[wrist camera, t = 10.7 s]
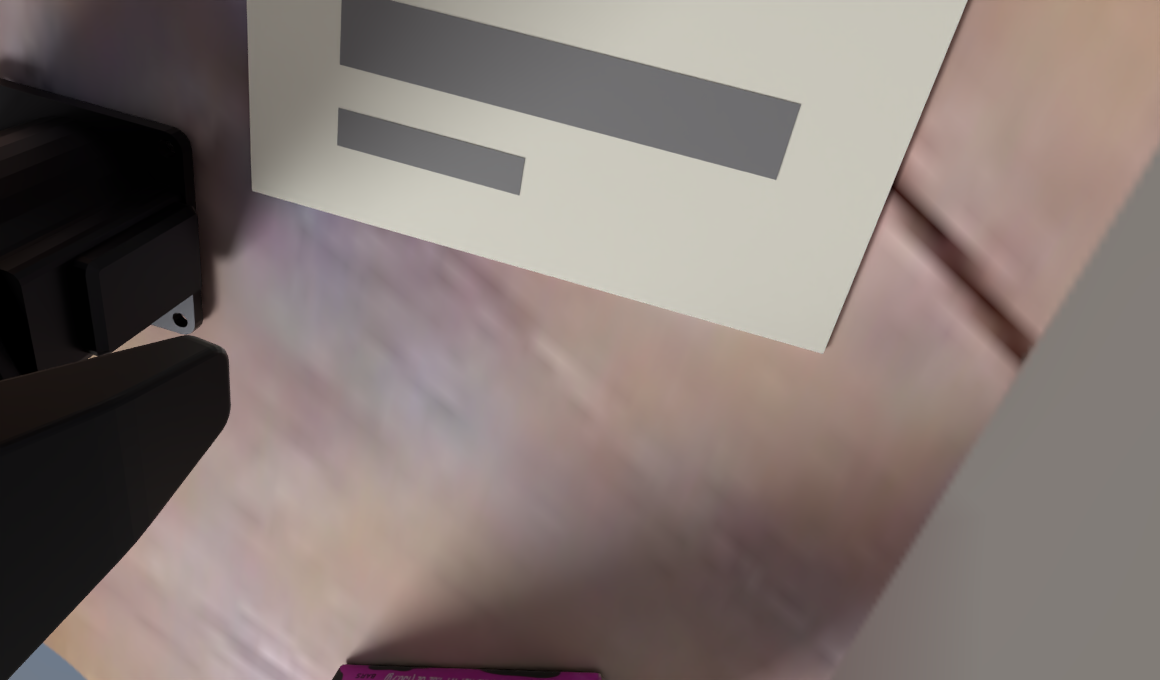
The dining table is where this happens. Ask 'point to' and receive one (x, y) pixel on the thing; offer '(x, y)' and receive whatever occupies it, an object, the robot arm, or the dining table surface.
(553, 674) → the candy bar box
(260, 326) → the dining table surface
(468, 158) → the paper sheet
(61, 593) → the robot arm
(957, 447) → the dining table surface
